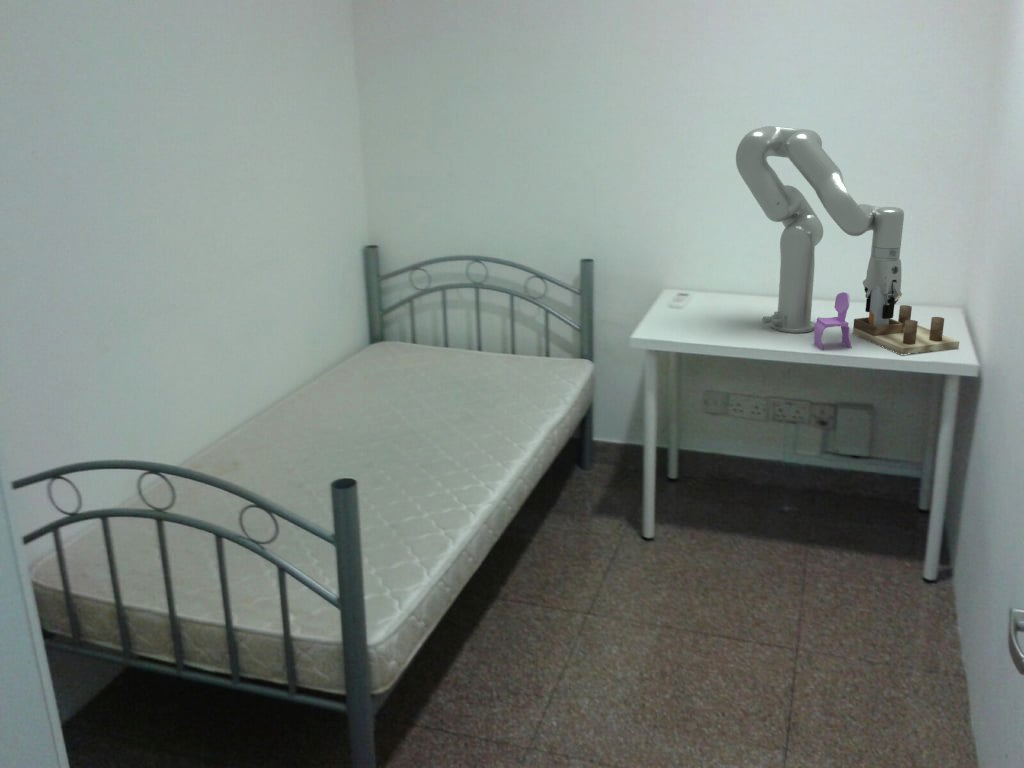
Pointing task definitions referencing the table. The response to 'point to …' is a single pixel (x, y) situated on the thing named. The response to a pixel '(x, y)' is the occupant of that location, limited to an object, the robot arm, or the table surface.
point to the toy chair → (834, 321)
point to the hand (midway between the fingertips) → (879, 314)
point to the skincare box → (877, 308)
